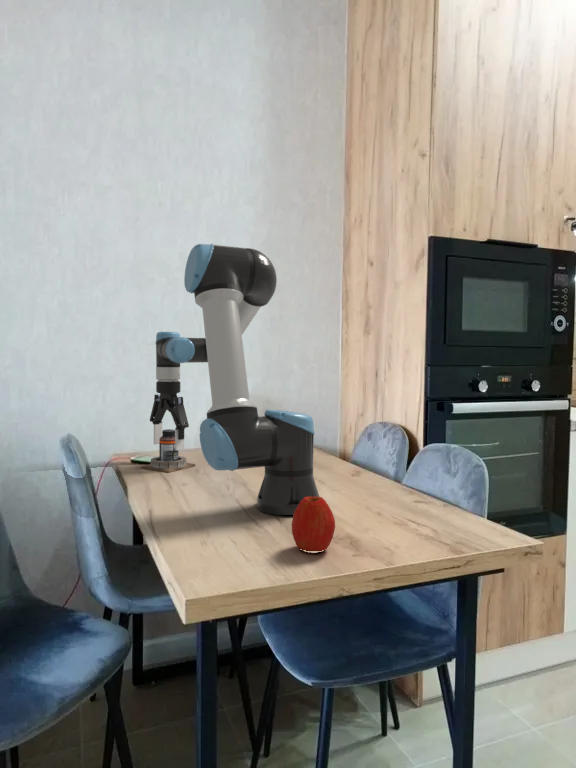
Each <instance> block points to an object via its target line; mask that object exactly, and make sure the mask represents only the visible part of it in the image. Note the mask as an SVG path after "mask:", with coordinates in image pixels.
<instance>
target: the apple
mask: <svg viewBox="0 0 576 768" xmlns="http://www.w3.org/2000/svg"><path fill="white" fill-rule="evenodd" d="M335 519H336V518H335V516H334V514H333V511H332V510H331V507H330V505H329V504H328V502H327V501H326V499H324V498H323V497H322V496H319V497H314V496H313V497H304V498H303V499H302V500H301V502H300V503H299V505H298V506H297V508H296V510H295V512H294V515H293V516H292V521H291V534H292V537H293V540H294V542H295V545H296V546H297V548H298V549H299V548H300V549H302V550H306V551H322V550H325V549H326V550H327V549H328V548H329V546H330V545H331V542H332V540H333V538H334V534H335V529H336V520H335ZM300 549H299V550H300Z"/></svg>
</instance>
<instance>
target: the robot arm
mask: <svg viewBox="0 0 576 768" xmlns="http://www.w3.org/2000/svg"><path fill="white" fill-rule="evenodd" d="M277 279H278V278H277V273H276V269H275V267H274V265H273V262H272V261H271V260H270V258H269V257H268V256H267V255H266V254H264V253H263V252H261V251H260V250H257V249H254V248H248V247H236V246H228V245H227V246H226V245H220V244H219V245H218V244H217V245H216V244H213V243H210V244H209V243H208V244H206V243H198V244H195V245H194V246H193V247H192V249H191V250H190V252H189V254H188V257H187V260H186V264H185V269H184V281H183V282H184V288H185V291H186V292H188V293H190V294H194V295H193V296H194V302H195V304H196V305H197V306H199V307H200V308H201V309H202V317H203V327H204V335H205V336H204V337H184V336H181V333H180V332H177V331H159V332H157V333H156V335H155V337H156V338H155V358H156V359H155V360H156V361H155V363H156V365H155V366H156V367H155V371H156V372H155V377H156V378H155V379H156V380H157V381H156V382H155V383H156V384H155V389H156V390H155V391H156V393H157V394H154V395H153V396H154V398H153V405H152V408H151V409H152V410H151V413H150V417H149V422H152V424H153V445H159V439H160V438H161V437H162V435H163V434H162V432H163V419H164V417H165V414H166V412H167V411H168V412H169V413H170V415H171V417H172V420H173V422H174V425H175V428H174V430H175V450H178V451H183V450H185V429H186V428H189V426H190V424H189V422H188V421H189V420H188V417H187V413H186V409H185V405H184V397H183V396H178V394H179V393H181V381H180V379H181V364H186V363H188V364H189V363H207V365H208V374H209V386H210V394H211V406H210V408H209V409H208V410H207V412H206V419H204V420H202V422H201V423H200V426H199V443H200V449H201V452H202V454H203V456H204V459H205V460H206V462H207V464H208V466H210V467H211V468H212V469H213V470H215V471H230V472H233V471H235V470H236V471H237V470H245V469H253V468H254V469H255V468H263V467H264V476H263V480H262V482H261V486H260V489H259V491H258V495H257V496H256V507H257V509H258V510H259V511H261V512H262V513H265V514H268V515H273V514H274V515H275V516H281V515H294V512H295V510H296V508H297V506H298V505H299V503H300V502H301V500H302V499H303V498H304V497H313V496H314V497H320V494H319V490H318V487H317V484H316V481H315V477H314V448H315V447H314V443H315V442H314V440H315V439H314V436H315V426H314V419H313V417H312V416H311V415H309V414H307V413H303V412H298V411H297V412H296V411H290V410H289V411H288V410H282V409H281V410H280V409H266V410H265V411H264V413H263V414H264V416H259V414H258V407H257V405H255V404H254V403H252V402H251V400H250V393H249V392H250V391H249V385H248V375H247V369H246V360H245V358H246V357H245V351H244V342H243V334H244V333H245V331H246V329H247V328H248V327H249V325H250V323H251V322H252V320H253V319H254V317H255V316H256V315H257V313H258V312H259V310H260V309H261V308H262V307H264V306H266V305H268V304H269V302H270V301H271V300H272V298H273V296H274V294H275V292H276V289H277Z"/></svg>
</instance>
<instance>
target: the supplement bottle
mask: <svg viewBox="0 0 576 768" xmlns="http://www.w3.org/2000/svg"><path fill="white" fill-rule="evenodd" d="M158 445H159V447H158V448H159V449H158V450H159V456H158V457H160V459H159V460H160V461H166V462H169V461H177V460H178V456H179V450H175V429H173V428H171V429H162V437H161V438H160V439H159V444H158Z"/></svg>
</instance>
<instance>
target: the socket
mask: <svg viewBox="0 0 576 768" xmlns="http://www.w3.org/2000/svg"><path fill="white" fill-rule="evenodd" d="M159 459H160V457H159V456H156V457H152V458H151V459H150V463H149V464H144V465H141V466H140V468H141V469H146V470H150V471H151V470H152V471H157V472H162V473H167V474H168V473H173V472H177V471H180V470H181V471H182V470H185V469H190V468H193V467H196V464H195V463H190V462H187V458H186V457H185V456H181V455H178V460H177V461H169V462H166V461H160V460H159Z"/></svg>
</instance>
